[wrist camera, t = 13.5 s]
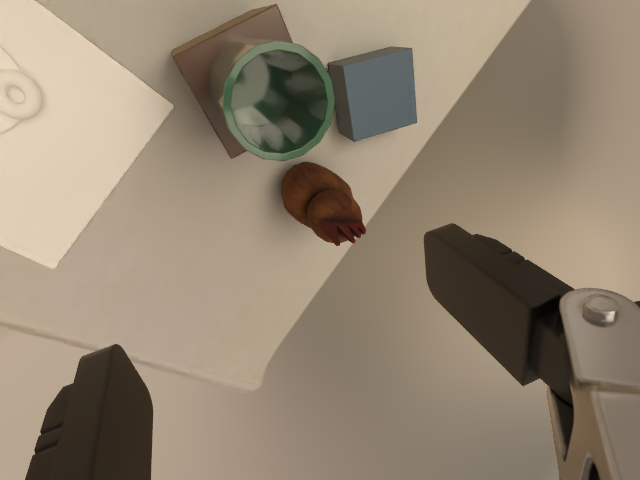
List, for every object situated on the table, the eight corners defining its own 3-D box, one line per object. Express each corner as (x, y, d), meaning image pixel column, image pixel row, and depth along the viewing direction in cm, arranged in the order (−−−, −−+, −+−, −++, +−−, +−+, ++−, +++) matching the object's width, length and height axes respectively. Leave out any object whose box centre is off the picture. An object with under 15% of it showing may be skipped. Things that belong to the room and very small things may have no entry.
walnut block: (170, 50, 35) (172, 56, 27) (253, 9, 35) (277, 3, 28) (218, 134, 39) (231, 159, 31) (291, 96, 40) (320, 111, 32)
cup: (196, 50, 27) (206, 57, 20) (283, 29, 29) (323, 29, 21) (224, 140, 31) (242, 173, 23) (302, 117, 32) (342, 143, 25)
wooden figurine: (265, 194, 43) (306, 261, 31) (290, 146, 42) (344, 196, 29) (316, 217, 46) (373, 286, 34) (342, 173, 45) (410, 228, 32)
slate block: (327, 63, 39) (342, 66, 36) (392, 46, 41) (412, 47, 37) (339, 133, 43) (354, 142, 39) (398, 115, 44) (417, 122, 41)
